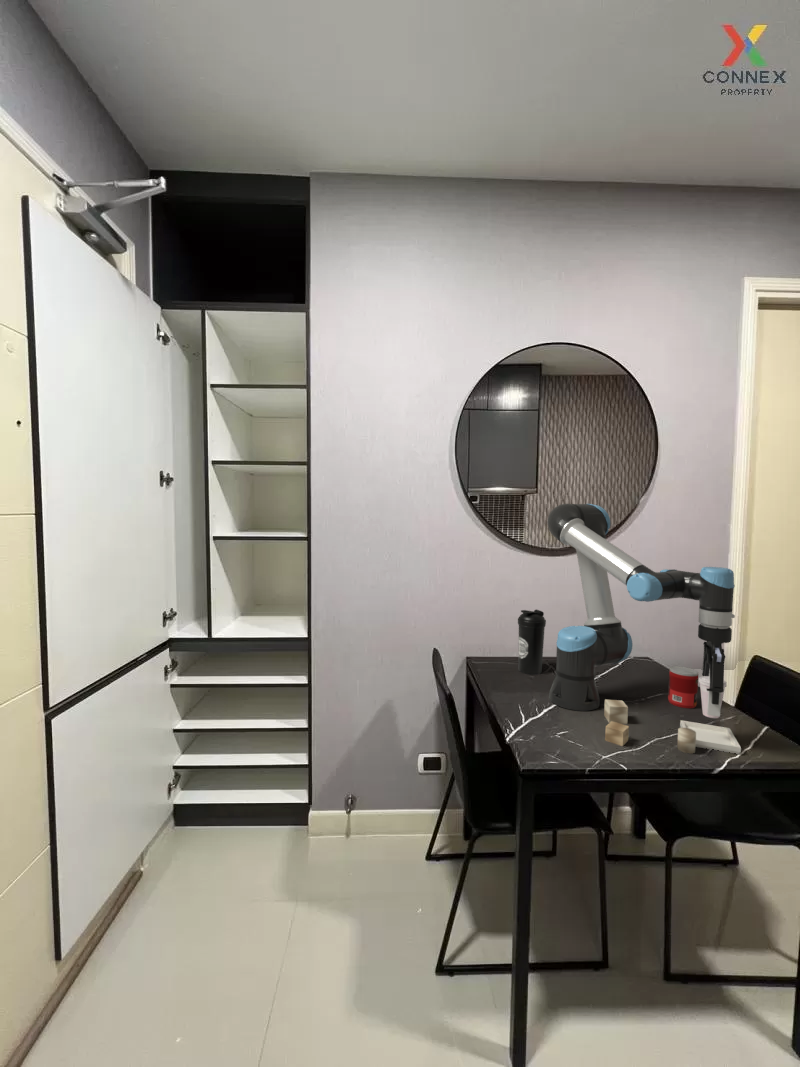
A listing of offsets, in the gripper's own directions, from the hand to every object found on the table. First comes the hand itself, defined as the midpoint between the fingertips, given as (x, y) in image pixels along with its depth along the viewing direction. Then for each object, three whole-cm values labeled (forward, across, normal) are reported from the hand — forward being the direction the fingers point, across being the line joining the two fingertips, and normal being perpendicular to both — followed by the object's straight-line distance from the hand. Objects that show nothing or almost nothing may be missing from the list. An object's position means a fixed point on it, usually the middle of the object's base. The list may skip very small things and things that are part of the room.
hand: (711, 710), depth 132 cm
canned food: (+8, +25, +3) cm, 27 cm away
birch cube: (+8, +3, +23) cm, 25 cm away
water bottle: (+8, +36, +52) cm, 64 cm away
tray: (+8, 0, 0) cm, 8 cm away
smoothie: (+2, 0, 0) cm, 2 cm away
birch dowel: (+8, -9, +7) cm, 14 cm away
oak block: (+8, -11, +23) cm, 27 cm away
